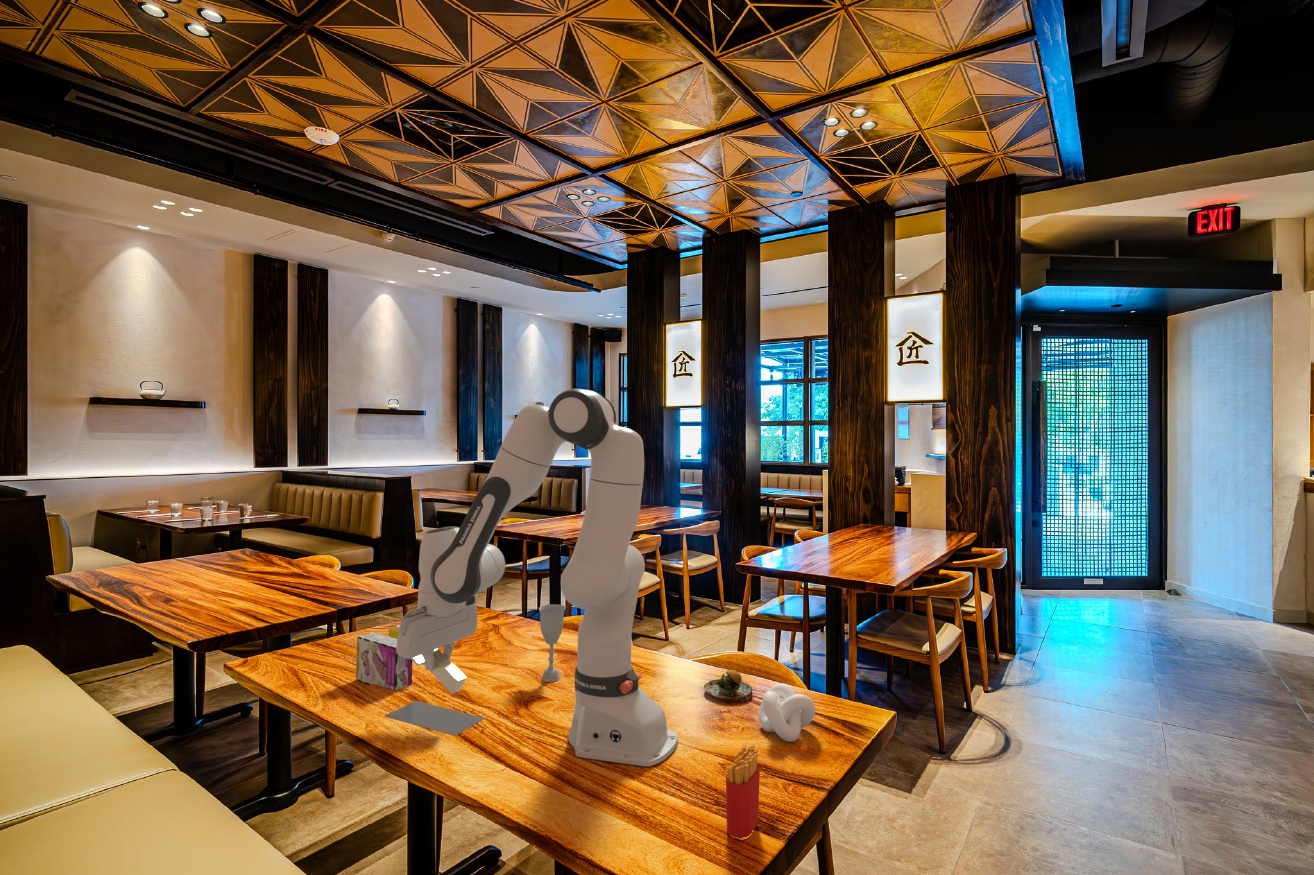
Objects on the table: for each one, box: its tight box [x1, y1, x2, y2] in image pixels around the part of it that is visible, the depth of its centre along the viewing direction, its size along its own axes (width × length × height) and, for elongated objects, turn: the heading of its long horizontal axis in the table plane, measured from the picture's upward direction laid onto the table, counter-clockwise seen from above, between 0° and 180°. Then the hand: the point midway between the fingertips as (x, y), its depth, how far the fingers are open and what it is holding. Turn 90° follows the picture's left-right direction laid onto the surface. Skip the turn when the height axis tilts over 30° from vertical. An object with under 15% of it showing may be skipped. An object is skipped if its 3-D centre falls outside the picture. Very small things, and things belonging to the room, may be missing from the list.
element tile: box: [388, 624, 400, 639], centre depth 190 cm, size 15×15×5 cm
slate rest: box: [384, 700, 486, 737], centre depth 134 cm, size 20×9×1 cm, turn 65°
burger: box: [703, 665, 753, 705], centre depth 151 cm, size 12×12×8 cm
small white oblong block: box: [411, 648, 467, 695], centre depth 134 cm, size 17×5×4 cm, turn 61°
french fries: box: [725, 744, 761, 838], centre depth 98 cm, size 8×4×12 cm, turn 151°
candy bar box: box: [355, 631, 413, 692], centre depth 154 cm, size 11×5×16 cm
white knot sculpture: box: [758, 683, 816, 743], centre depth 130 cm, size 11×12×9 cm
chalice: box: [538, 603, 567, 683], centre depth 159 cm, size 7×7×18 cm
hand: (437, 666), depth 133 cm, fingers closed on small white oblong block, 2 cm apart
